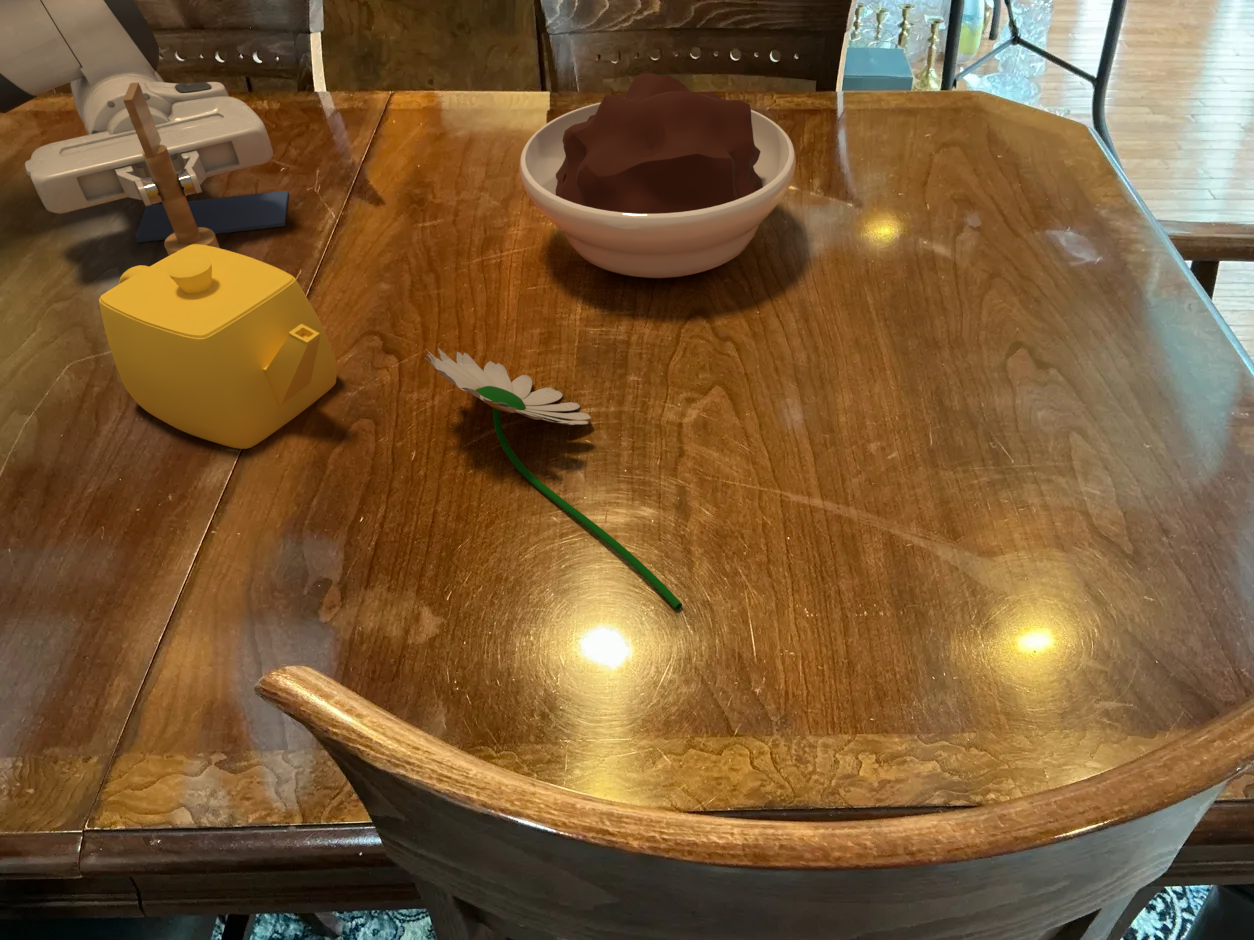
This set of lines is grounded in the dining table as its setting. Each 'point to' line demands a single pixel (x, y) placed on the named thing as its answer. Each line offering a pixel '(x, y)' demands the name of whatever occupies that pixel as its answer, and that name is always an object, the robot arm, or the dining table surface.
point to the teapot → (217, 344)
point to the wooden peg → (165, 177)
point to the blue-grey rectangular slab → (220, 215)
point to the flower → (518, 398)
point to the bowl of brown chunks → (658, 177)
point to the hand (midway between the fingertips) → (171, 191)
